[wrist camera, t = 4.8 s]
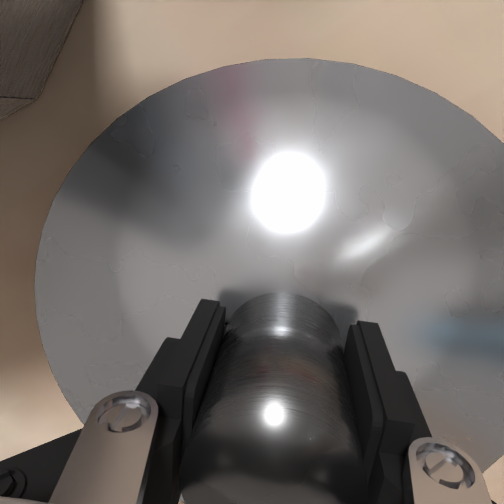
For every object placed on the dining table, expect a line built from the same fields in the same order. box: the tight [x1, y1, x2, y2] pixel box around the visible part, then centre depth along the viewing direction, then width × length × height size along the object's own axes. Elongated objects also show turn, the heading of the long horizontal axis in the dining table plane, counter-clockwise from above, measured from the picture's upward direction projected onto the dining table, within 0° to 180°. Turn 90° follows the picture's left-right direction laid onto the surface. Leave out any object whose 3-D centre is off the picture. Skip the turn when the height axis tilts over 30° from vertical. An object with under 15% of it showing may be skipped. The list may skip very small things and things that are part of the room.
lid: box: [34, 58, 504, 504], centre depth 11 cm, size 16×16×8 cm
